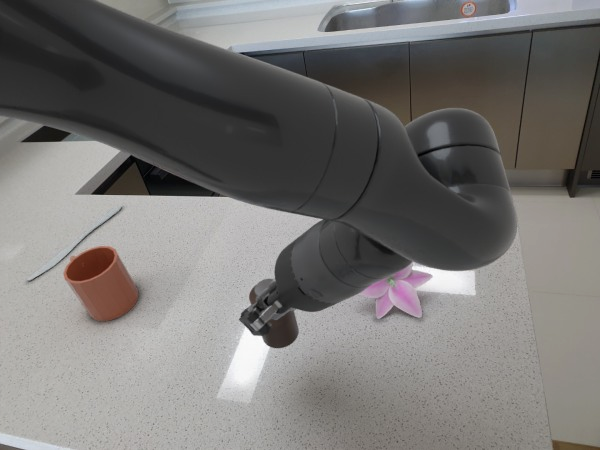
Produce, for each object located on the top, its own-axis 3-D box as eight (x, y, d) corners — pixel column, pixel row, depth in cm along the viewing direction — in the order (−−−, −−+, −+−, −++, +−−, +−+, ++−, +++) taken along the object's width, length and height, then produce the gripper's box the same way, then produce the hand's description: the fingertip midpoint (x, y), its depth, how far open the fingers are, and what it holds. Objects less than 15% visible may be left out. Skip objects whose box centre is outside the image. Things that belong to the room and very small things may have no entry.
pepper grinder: (283, 354, 57) (269, 308, 52) (255, 339, 60) (238, 293, 54) (306, 327, 60) (294, 280, 54) (277, 313, 62) (264, 268, 57)
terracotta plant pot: (148, 293, 87) (127, 255, 81) (107, 328, 82) (81, 290, 76) (110, 272, 94) (88, 235, 88) (70, 303, 89) (43, 265, 83)
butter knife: (124, 206, 113) (116, 203, 114) (32, 282, 96) (23, 278, 97) (125, 208, 113) (117, 205, 114) (33, 284, 96) (25, 280, 97)
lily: (342, 309, 77) (344, 295, 68) (366, 248, 81) (371, 227, 72) (411, 337, 75) (422, 326, 66) (432, 273, 79) (446, 255, 70)
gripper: (341, 194, 48) (276, 248, 62) (252, 283, 40) (200, 321, 54) (390, 247, 48) (314, 288, 62) (311, 346, 40) (244, 368, 54)
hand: (261, 303), depth 58 cm, fingers closed on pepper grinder, 4 cm apart
